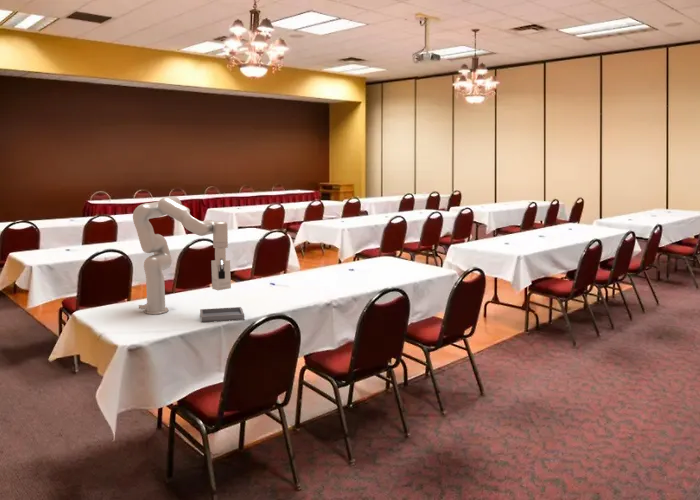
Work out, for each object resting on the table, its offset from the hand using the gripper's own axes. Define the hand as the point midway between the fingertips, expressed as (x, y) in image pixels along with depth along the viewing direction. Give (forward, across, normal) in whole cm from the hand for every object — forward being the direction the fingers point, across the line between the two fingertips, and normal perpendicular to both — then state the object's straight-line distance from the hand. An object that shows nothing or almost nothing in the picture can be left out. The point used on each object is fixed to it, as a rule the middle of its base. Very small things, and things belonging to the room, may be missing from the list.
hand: (221, 276), depth 327 cm
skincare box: (+7, 0, 0) cm, 7 cm away
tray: (+22, 0, 0) cm, 22 cm away
